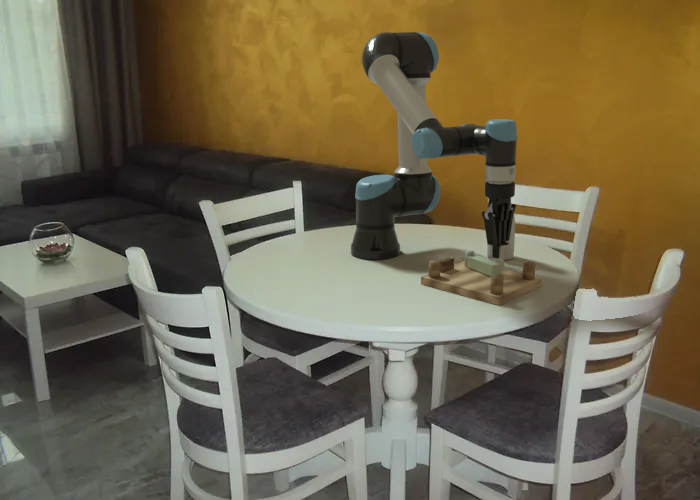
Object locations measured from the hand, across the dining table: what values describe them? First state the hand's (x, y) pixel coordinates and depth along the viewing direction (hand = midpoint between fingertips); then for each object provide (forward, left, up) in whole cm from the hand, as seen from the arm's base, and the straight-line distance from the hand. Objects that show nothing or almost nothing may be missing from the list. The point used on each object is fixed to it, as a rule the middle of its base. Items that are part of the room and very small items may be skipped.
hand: (497, 268), depth 179 cm
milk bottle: (-11, +19, -3) cm, 22 cm away
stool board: (-1, -6, -3) cm, 7 cm away
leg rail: (-4, -1, -1) cm, 5 cm away
